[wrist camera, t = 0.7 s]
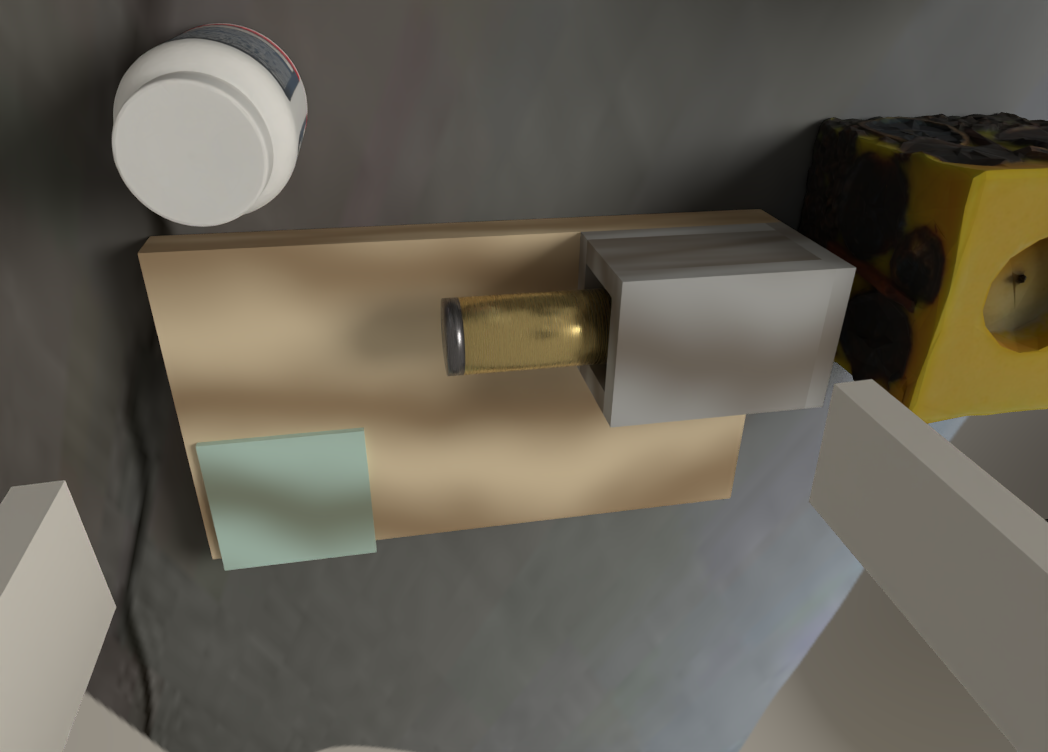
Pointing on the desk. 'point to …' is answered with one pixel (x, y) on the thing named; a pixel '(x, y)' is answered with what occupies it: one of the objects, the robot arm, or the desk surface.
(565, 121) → the desk surface
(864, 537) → the robot arm
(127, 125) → the pill bottle
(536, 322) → the pin
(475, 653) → the desk surface
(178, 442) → the desk surface
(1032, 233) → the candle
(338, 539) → the wooden base board
